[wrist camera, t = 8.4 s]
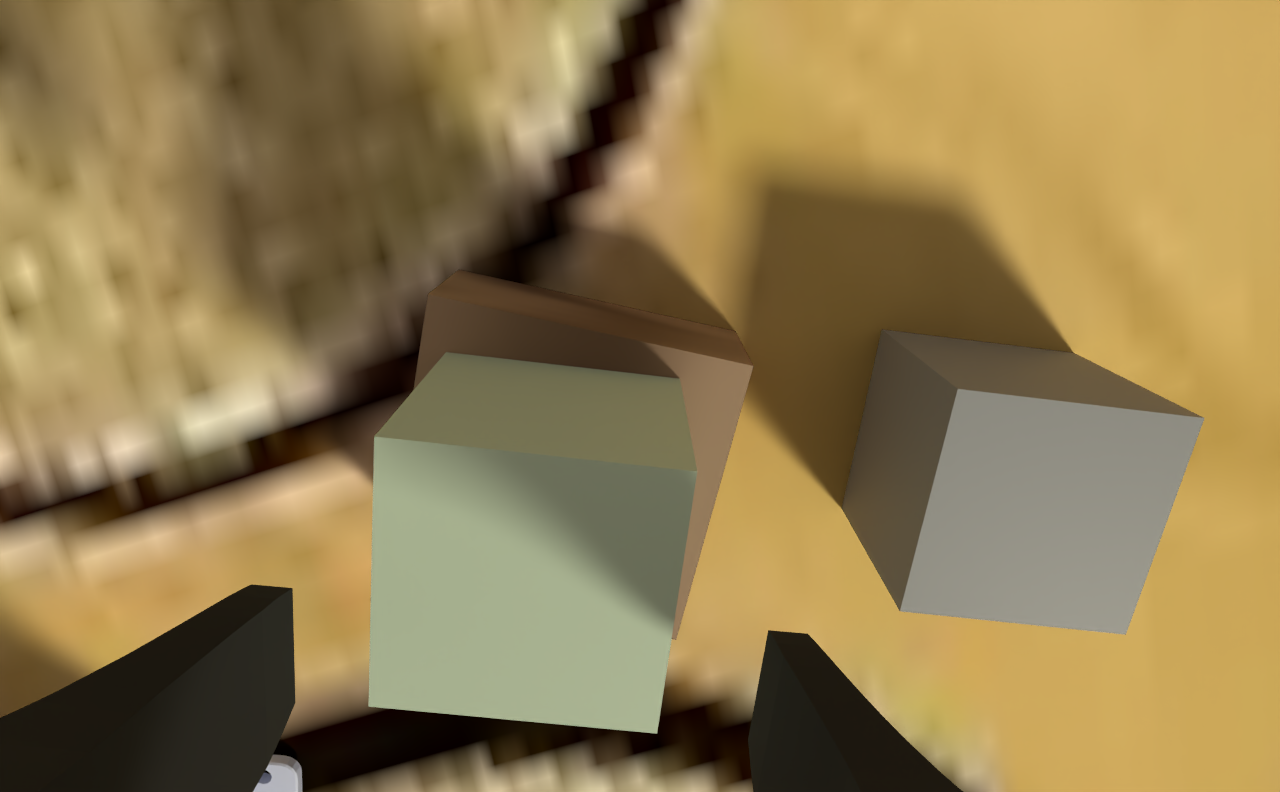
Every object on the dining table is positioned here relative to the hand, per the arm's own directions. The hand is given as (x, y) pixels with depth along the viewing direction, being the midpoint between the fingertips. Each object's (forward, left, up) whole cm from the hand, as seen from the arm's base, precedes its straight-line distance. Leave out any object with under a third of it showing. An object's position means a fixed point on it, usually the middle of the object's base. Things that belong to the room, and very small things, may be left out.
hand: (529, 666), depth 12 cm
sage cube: (0, 0, -6) cm, 6 cm away
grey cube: (+10, +1, -10) cm, 14 cm away
